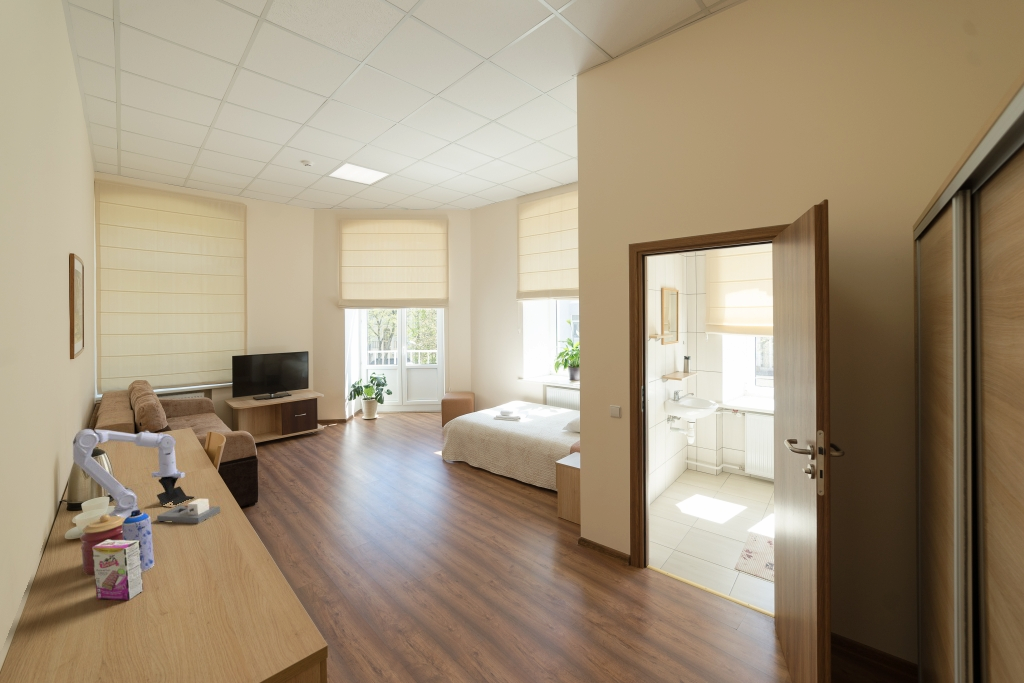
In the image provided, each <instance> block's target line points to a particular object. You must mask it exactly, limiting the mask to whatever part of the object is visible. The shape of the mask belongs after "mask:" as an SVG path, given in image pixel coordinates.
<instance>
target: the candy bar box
mask: <svg viewBox="0 0 1024 683" xmlns="http://www.w3.org/2000/svg"><path fill="white" fill-rule="evenodd" d="M92 550H93V561H94V572H95V574H94V580H95V594H96V599H97V600H114V601H116V600H117V601H118V600H119V601H130V600H132V599H133V597H134V598H135V597H136V596H138V595H139V594H141V593H143V592H144V586H143V585H144V584H143V575H142V574H143V572H142V571H141V559H140V546H139V541H137V540H105V541H103V542H101V543H99V544H97V545H95V546H93V547H92ZM140 592H141V593H140ZM137 594H138V595H137Z"/></svg>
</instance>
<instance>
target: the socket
mask: <svg viewBox="0 0 1024 683" xmlns="http://www.w3.org/2000/svg"><path fill="white" fill-rule="evenodd" d="M220 507H221V506H213V505H210V504H209V510H207V511H205V512H203V513H201V514H199V515H191V514H188V504H184V505H183V504H180V505H178V506H175V507H173V508H171V509H169V510H166V511H164V512H162V513H160V514H159V515H156V517H157V518H156V521H172V522H171V523H174V522H184V523H183V524H195V523H199V524H201V523H202V521H203V522H205V521H206V520H205V519H207V518H208V519H210V518H212V517H214V516H216V515H217V514H216V513H218V512H220V513H221V508H220ZM215 514H216V515H215ZM218 514H219V513H218ZM213 515H214V516H213ZM211 516H212V517H211ZM209 517H210V518H209ZM208 519H207V520H208ZM204 520H205V521H204ZM185 522H186V523H185ZM200 522H201V523H200Z"/></svg>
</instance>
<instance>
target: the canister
mask: <svg viewBox="0 0 1024 683" xmlns="http://www.w3.org/2000/svg"><path fill="white" fill-rule="evenodd" d="M108 514H109V513H108ZM108 514H102V515H100V517H99V519H97V520H94V521H92V522H90V523H89V524H88V525H87V526H85V527H84V528H83V529H82V532H83V533H82V534H81V535H80V537H79V539H80V541H81V542H82V545H81V546H80V550H81V557H82V565H81V566H82V570H83V573H84V572H85V574H86V573H87V574H86V575H95V572H94V561H93V550H92V547H93V546H95V545H97V544H99V543H101V542H103V541H105V540H123V532H122V522H123V521H124V520H125V519H126V518H124V517H120V516H111V517H110V516H109V515H108Z"/></svg>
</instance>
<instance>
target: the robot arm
mask: <svg viewBox="0 0 1024 683" xmlns="http://www.w3.org/2000/svg"><path fill="white" fill-rule="evenodd" d="M109 441H115V442H129V443H134V444H135V446H136V447H145V448H146V447H147V448H158V453H157V454H158V470H159V471H153V472H152V473H151V478H160V479H158V483H159V484H160V485H161V486H162V487H163V490H164V492H166V494H167V495H169V494H171V493H173V491H174V488H175V487H176V483H177V481H178V479H183V478H185V477H186V473H185V472H184V471H179V469H177V460H176V459H177V458H176V451H175V446H176V443H177V441H176V439H175V438H174V437H173V436H172V435H170V434H167V433H162V432H159V433H155V432H150V431H149V430H144V431H140V432H139V433H129V432H123V431H115V430H108V429H94V430H93V429H90V428H85V429H82V430H80V431H77V433H76V435H75V436H74V438H73V441H72V455H73V456H72V460H73V462H74V463H75V464H76V465H77V466H78V467H79V468H80V469H82V470H83V471H84V472H85V473H86V474H87V475H88V476H90V478H92V479H93V480H94V481H95V482H96V483H97V484H98V485H100V487H102V489H104V490H105V491H106V493H108V494H109V495H110V496H111V497H112V498H113V500H114V501H115V503H116V505H115V506H114V508H113V509H114V510H113V511H112V512H110V513H108V515H109V516H110V517H111V516H120V517H124V518H127V517H129V516H130V515H131V512H132V511H134V510H139V505H138V496H137V495H136V494H135V492H134V490H133V489H132V488H130V487H125V485H123V484H122V483H121V482H119V481H118V480H117V479H116V478H115V477H114V476H113V475H112V474H111V473H110V472H109V471H108V470H107V469H105V468H104V467H103V466H102V465H101V464H100V463H99V462H98V461H97V460H96V459H95V458H94V457H93V456H92V454H93V451H94V449H95V448H96V447H97V446H98V444H99V443H100V444H103V443H105V442H109Z"/></svg>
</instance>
